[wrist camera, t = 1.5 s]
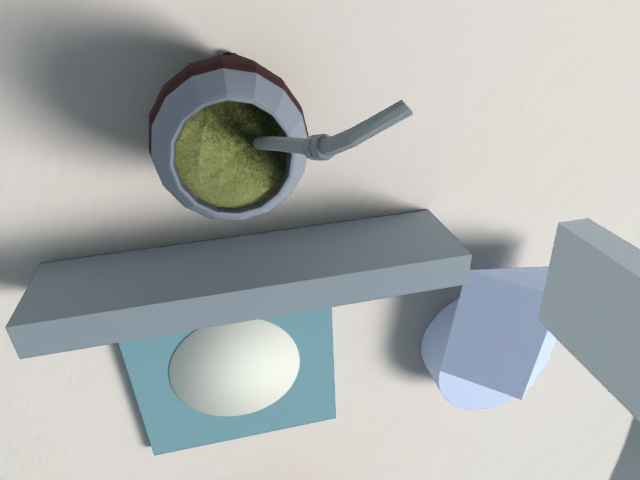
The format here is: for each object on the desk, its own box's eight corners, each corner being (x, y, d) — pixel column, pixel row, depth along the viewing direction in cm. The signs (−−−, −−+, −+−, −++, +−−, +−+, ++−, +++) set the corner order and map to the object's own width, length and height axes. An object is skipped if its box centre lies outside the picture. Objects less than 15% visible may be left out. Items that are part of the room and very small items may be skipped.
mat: (108, 297, 30) (105, 305, 29) (327, 263, 32) (330, 270, 32) (155, 446, 37) (154, 456, 36) (333, 410, 39) (336, 419, 38)
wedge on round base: (443, 245, 34) (411, 383, 40) (493, 300, 28) (447, 452, 34) (554, 241, 36) (508, 374, 42) (622, 292, 30) (557, 437, 36)
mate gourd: (156, 167, 27) (115, 341, 14) (160, 13, 24) (112, 58, 11) (287, 179, 29) (356, 341, 16) (308, 39, 26) (418, 103, 13)
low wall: (40, 263, 28) (5, 327, 23) (428, 209, 32) (472, 254, 27) (51, 291, 29) (19, 359, 24) (426, 236, 33) (468, 284, 28)
